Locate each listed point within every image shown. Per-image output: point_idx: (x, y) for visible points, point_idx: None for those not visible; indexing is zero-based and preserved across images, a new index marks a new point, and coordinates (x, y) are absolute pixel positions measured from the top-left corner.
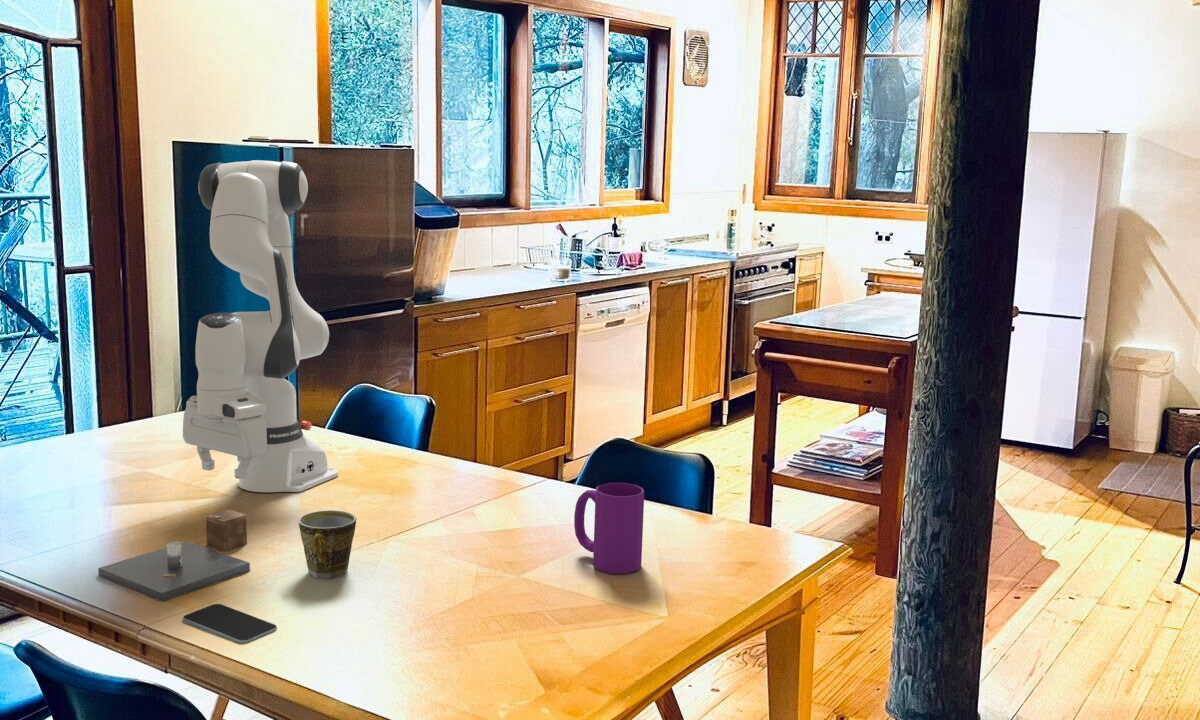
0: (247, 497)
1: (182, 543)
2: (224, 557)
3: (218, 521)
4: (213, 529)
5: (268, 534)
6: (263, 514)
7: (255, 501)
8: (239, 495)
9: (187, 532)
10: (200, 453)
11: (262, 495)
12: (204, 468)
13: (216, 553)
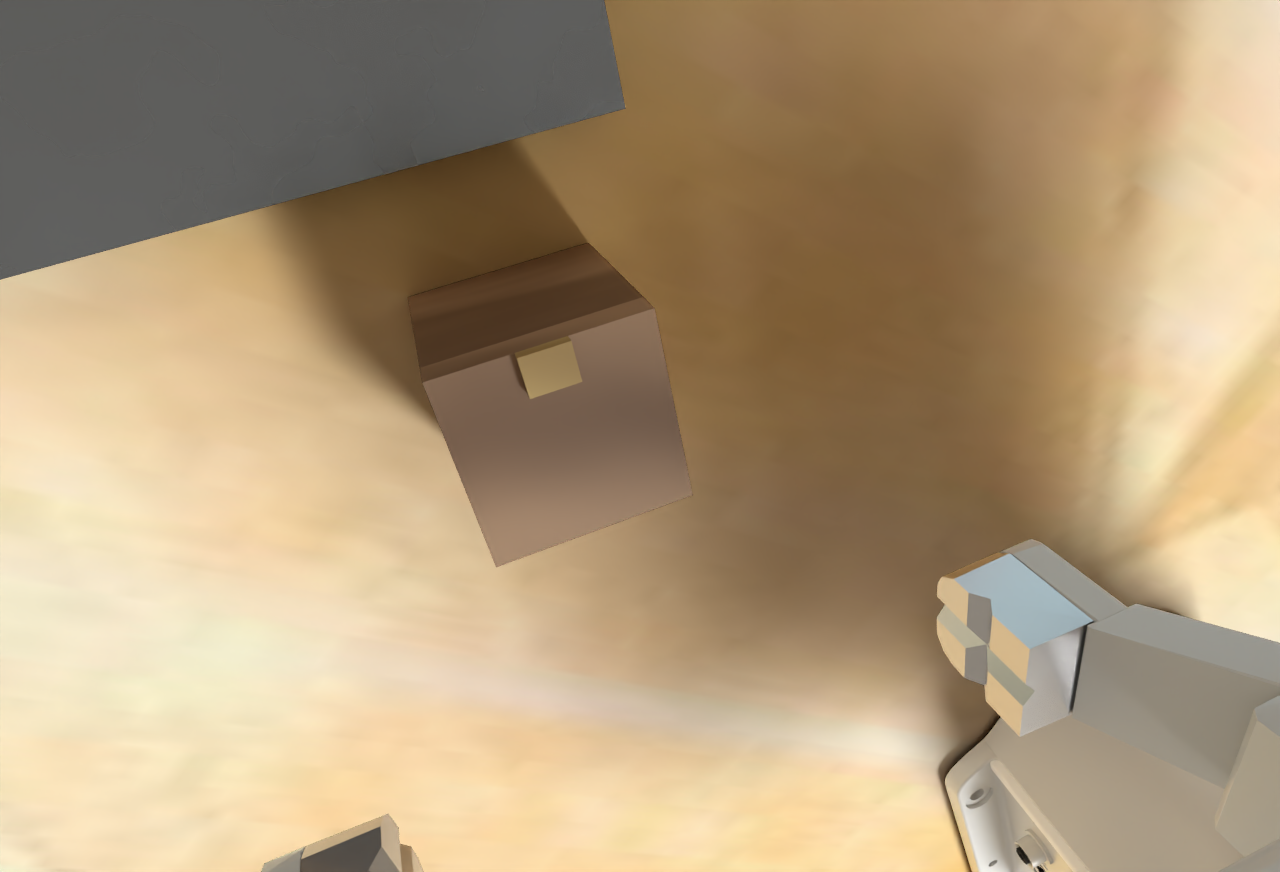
0: None
1: (586, 55)
2: (60, 202)
3: (489, 355)
4: (540, 305)
5: (555, 583)
6: (829, 622)
7: None
8: None
9: (866, 230)
10: (1249, 676)
11: None
12: (999, 560)
13: (201, 185)
